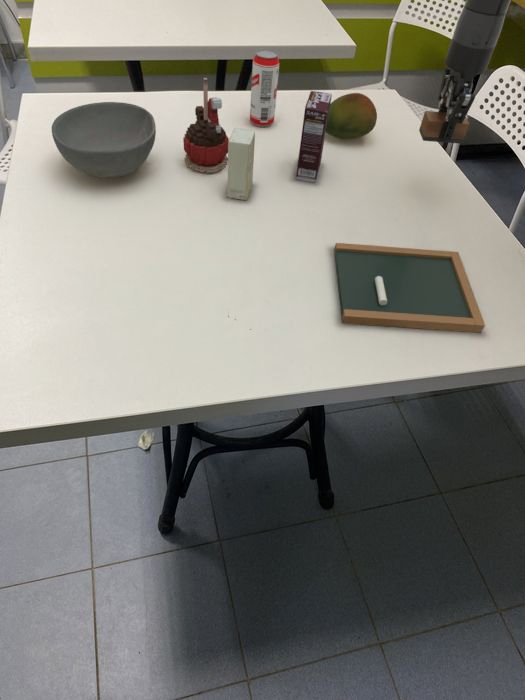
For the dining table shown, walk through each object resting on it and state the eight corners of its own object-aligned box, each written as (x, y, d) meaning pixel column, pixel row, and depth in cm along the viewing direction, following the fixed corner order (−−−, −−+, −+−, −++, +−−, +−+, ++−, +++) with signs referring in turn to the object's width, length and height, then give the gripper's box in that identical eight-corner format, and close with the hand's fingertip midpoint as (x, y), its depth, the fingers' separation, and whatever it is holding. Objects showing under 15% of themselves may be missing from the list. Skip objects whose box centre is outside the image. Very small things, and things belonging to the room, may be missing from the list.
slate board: (454, 259, 95) (458, 251, 94) (480, 332, 83) (485, 325, 82) (334, 250, 94) (335, 242, 93) (342, 323, 82) (344, 315, 80)
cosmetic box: (246, 201, 102) (250, 145, 93) (226, 197, 103) (227, 141, 93) (252, 185, 106) (256, 130, 97) (232, 181, 107) (234, 126, 97)
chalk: (382, 281, 87) (383, 275, 86) (387, 305, 84) (387, 299, 82) (374, 282, 87) (374, 276, 86) (378, 305, 84) (379, 300, 83)
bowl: (57, 149, 110) (45, 103, 102) (149, 140, 115) (144, 96, 107) (67, 200, 98) (55, 152, 90) (168, 187, 103) (165, 141, 96)
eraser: (457, 133, 102) (464, 113, 99) (462, 144, 99) (469, 124, 96) (418, 130, 101) (425, 110, 98) (422, 140, 99) (429, 120, 95)
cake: (179, 154, 112) (174, 69, 98) (218, 149, 115) (219, 66, 101) (193, 179, 106) (190, 92, 92) (233, 173, 109) (237, 88, 95)
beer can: (251, 128, 123) (256, 58, 110) (247, 116, 127) (250, 47, 114) (276, 128, 124) (283, 58, 112) (271, 116, 128) (277, 48, 116)
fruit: (378, 142, 123) (389, 102, 115) (338, 153, 118) (347, 111, 111) (349, 122, 129) (358, 82, 121) (311, 131, 124) (317, 90, 117)
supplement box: (300, 160, 115) (310, 89, 102) (320, 164, 114) (333, 93, 102) (294, 180, 109) (304, 107, 97) (315, 183, 109) (328, 111, 97)
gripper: (507, 55, 82) (468, 153, 95) (484, 27, 91) (451, 119, 104) (463, 51, 82) (429, 150, 95) (445, 23, 91) (416, 116, 104)
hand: (441, 133), depth 100 cm, fingers closed on eraser, 4 cm apart
